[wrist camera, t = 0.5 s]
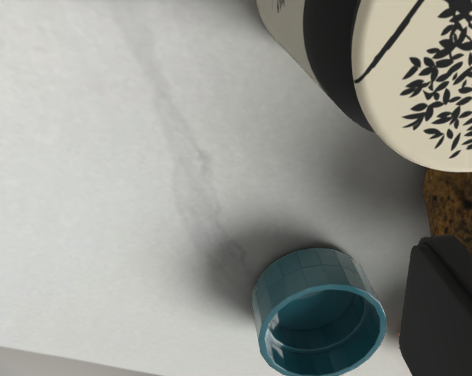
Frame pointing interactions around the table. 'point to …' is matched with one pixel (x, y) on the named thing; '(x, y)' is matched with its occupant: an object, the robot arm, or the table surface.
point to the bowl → (316, 314)
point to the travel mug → (389, 68)
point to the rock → (449, 204)
